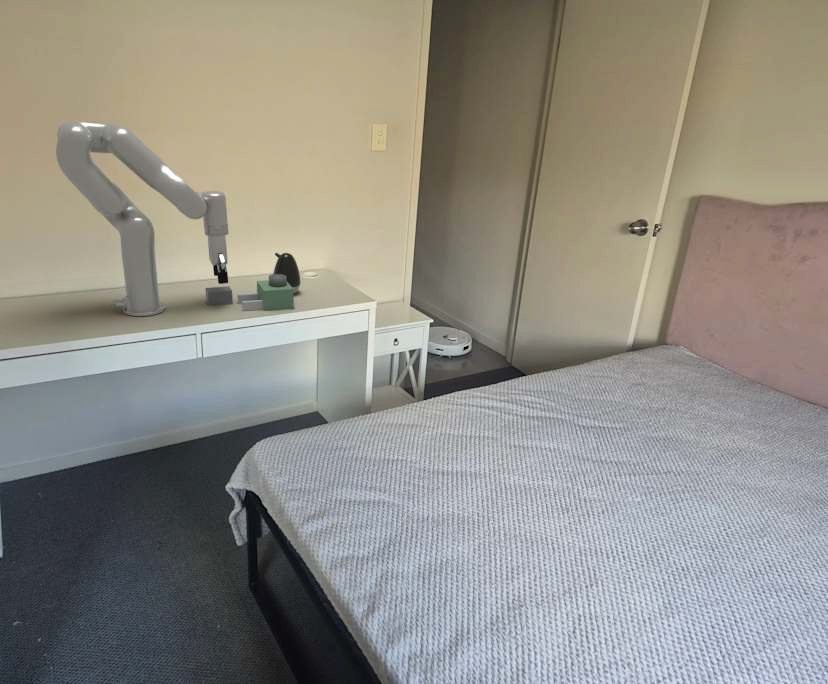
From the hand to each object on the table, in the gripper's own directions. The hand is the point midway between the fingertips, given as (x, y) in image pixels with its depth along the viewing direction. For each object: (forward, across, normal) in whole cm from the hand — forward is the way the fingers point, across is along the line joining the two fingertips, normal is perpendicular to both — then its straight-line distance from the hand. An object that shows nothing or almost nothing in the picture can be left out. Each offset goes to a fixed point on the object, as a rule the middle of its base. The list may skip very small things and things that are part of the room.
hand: (221, 279), depth 204 cm
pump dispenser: (+10, -6, +24) cm, 26 cm away
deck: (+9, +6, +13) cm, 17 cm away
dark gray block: (+8, 0, -1) cm, 9 cm away
